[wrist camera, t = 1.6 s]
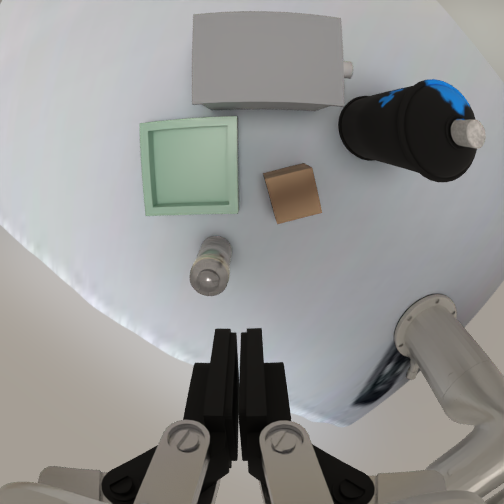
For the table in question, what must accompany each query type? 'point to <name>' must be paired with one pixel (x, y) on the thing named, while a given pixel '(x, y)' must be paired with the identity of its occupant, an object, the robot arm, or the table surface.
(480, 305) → the table surface
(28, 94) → the table surface
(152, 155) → the tray
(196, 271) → the fuse
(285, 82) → the box
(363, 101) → the aerosol can
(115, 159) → the table surface
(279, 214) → the walnut block
